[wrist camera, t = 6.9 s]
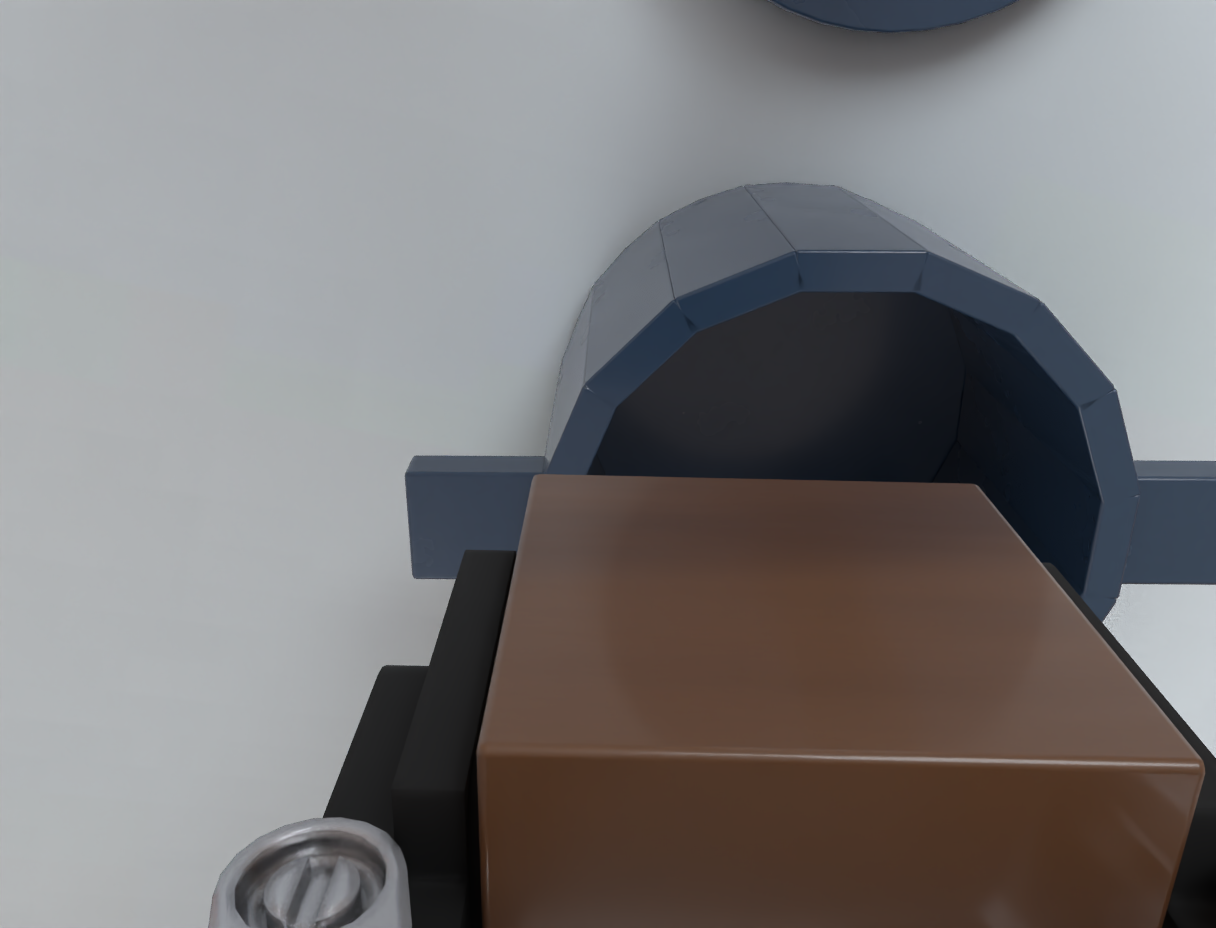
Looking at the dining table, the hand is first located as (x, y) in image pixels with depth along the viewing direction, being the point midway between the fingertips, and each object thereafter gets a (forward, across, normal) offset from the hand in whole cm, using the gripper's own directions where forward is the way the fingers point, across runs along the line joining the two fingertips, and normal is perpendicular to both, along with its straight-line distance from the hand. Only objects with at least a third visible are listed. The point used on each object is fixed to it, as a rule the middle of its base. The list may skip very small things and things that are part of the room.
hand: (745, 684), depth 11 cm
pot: (+18, -3, +2) cm, 18 cm away
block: (0, 0, 0) cm, 0 cm away
